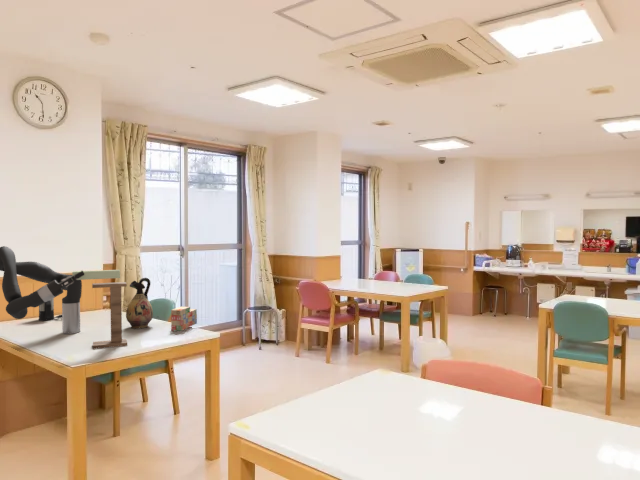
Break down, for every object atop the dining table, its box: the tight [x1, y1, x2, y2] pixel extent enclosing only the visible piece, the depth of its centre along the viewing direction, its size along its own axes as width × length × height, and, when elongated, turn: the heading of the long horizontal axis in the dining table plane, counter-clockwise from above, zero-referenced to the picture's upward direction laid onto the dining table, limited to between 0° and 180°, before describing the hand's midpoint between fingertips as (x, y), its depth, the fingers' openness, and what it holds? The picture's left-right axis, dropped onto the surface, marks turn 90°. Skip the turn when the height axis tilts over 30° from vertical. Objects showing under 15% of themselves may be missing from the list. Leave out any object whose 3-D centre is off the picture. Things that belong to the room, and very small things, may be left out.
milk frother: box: [38, 298, 62, 322], centre depth 326 cm, size 14×16×15 cm
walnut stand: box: [91, 281, 128, 350], centre depth 256 cm, size 9×16×32 cm, turn 115°
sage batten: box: [71, 269, 121, 281], centre depth 253 cm, size 3×22×4 cm, turn 115°
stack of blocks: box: [170, 306, 198, 332], centre depth 302 cm, size 21×6×12 cm, turn 168°
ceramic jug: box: [125, 277, 154, 329], centre depth 302 cm, size 17×15×30 cm
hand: (83, 272), depth 251 cm, fingers closed on sage batten, 3 cm apart
